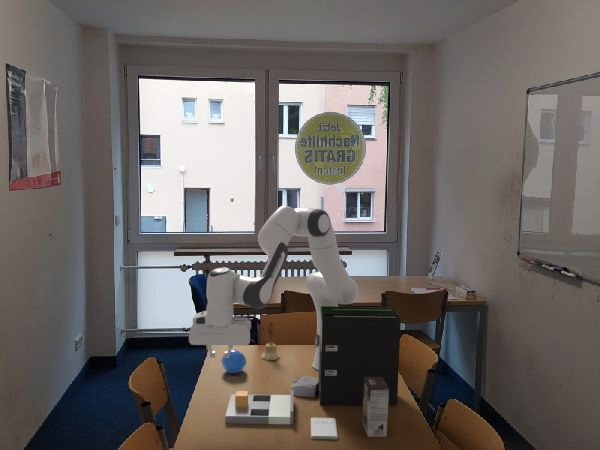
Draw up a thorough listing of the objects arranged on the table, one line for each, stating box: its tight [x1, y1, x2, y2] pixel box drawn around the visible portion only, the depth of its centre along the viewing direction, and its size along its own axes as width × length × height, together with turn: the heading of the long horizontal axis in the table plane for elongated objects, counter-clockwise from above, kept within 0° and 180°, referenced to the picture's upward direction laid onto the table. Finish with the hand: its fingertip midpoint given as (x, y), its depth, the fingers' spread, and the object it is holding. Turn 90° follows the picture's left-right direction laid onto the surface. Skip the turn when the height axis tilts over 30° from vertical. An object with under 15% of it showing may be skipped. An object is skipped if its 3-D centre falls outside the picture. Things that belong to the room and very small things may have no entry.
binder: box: [318, 306, 402, 407], centre depth 202 cm, size 27×15×32 cm, turn 90°
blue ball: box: [221, 349, 247, 375], centre depth 226 cm, size 10×12×10 cm
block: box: [235, 390, 249, 408], centre depth 191 cm, size 4×4×4 cm
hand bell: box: [260, 320, 281, 361], centre depth 243 cm, size 8×8×16 cm
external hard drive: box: [310, 417, 338, 440], centre depth 180 cm, size 2×8×12 cm
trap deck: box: [224, 389, 294, 425], centre depth 191 cm, size 22×17×4 cm
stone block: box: [290, 375, 319, 398], centre depth 210 cm, size 12×5×10 cm
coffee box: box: [362, 377, 389, 438], centre depth 179 cm, size 9×6×16 cm
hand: (219, 357), depth 189 cm, fingers open, 3 cm apart
